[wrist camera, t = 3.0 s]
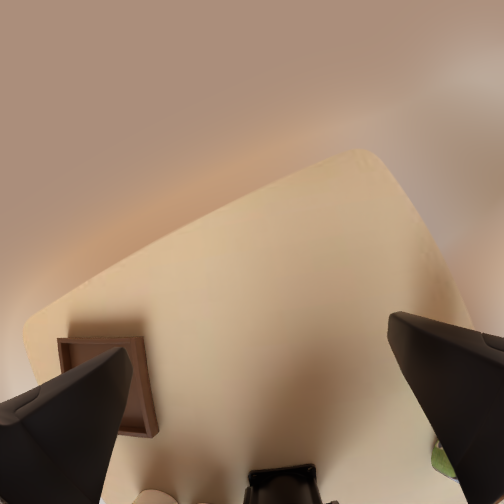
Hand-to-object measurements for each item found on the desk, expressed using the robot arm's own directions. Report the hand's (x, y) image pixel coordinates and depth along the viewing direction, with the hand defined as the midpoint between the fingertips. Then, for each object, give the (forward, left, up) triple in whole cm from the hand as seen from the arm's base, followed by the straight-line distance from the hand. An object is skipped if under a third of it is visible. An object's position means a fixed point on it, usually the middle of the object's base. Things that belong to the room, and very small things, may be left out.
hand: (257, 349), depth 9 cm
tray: (+16, +5, -17) cm, 24 cm away
